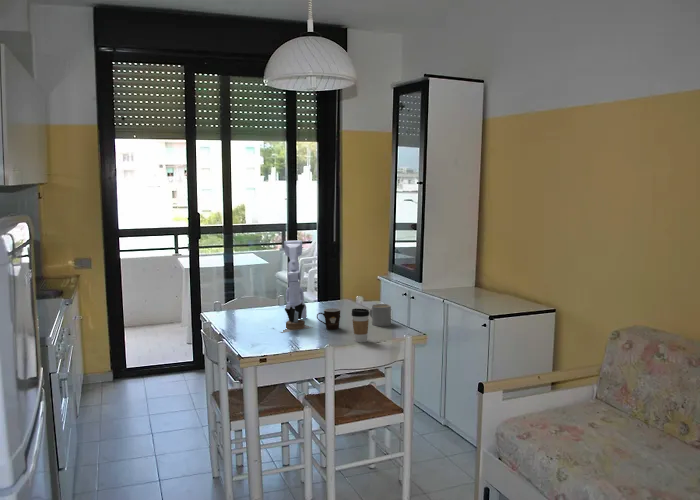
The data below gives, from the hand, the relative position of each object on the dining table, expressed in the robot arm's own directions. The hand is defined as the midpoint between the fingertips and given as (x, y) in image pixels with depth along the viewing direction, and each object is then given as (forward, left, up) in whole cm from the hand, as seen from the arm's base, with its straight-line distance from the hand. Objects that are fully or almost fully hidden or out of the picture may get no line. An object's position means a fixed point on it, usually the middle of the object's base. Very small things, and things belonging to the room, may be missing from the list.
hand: (295, 320), depth 300 cm
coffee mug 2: (-40, +20, -4) cm, 45 cm away
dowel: (0, 0, -4) cm, 4 cm away
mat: (+2, -3, -4) cm, 6 cm away
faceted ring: (0, 0, -4) cm, 4 cm away
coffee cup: (-12, +42, -4) cm, 44 cm away
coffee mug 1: (-13, +13, -4) cm, 19 cm away
